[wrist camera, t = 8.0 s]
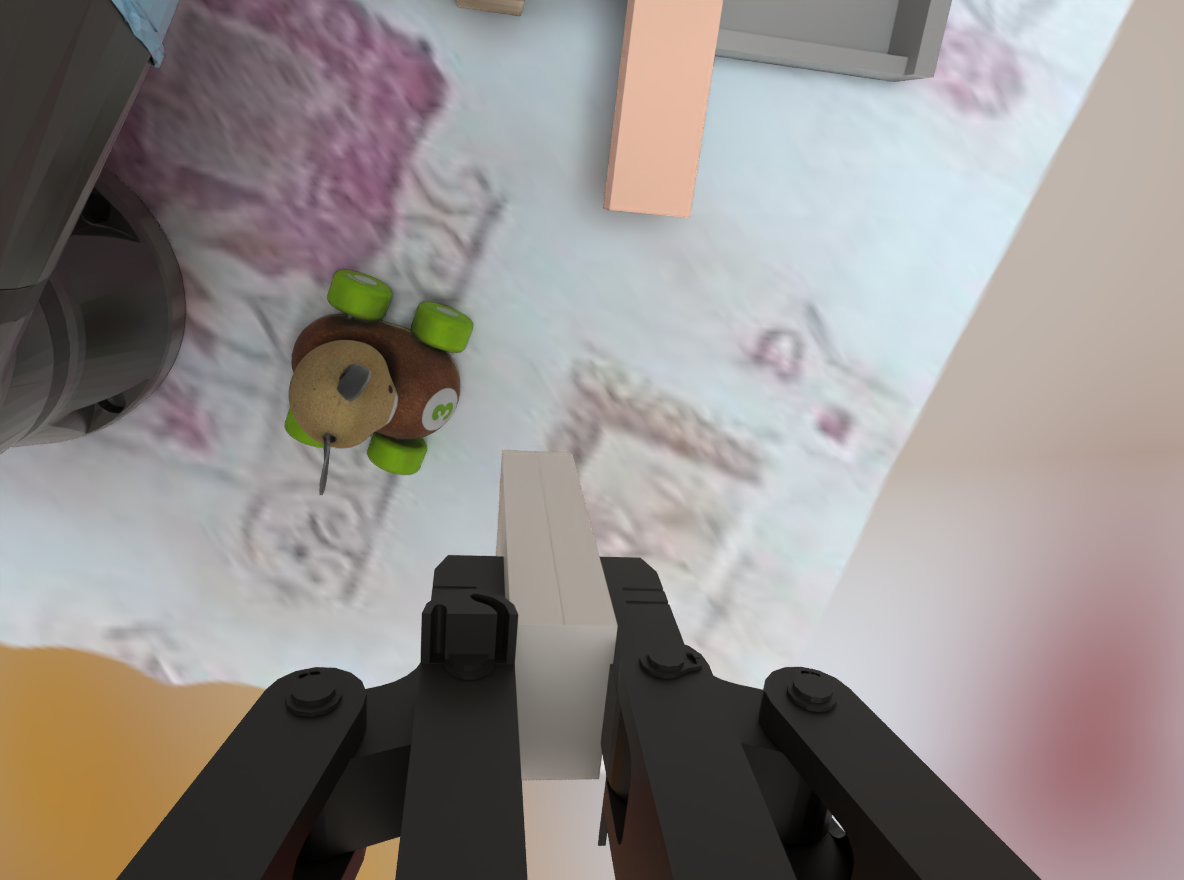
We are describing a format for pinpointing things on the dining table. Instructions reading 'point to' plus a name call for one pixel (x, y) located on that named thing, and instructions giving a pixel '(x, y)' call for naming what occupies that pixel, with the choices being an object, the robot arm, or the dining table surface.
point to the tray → (837, 35)
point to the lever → (661, 105)
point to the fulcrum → (494, 5)
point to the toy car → (375, 376)
